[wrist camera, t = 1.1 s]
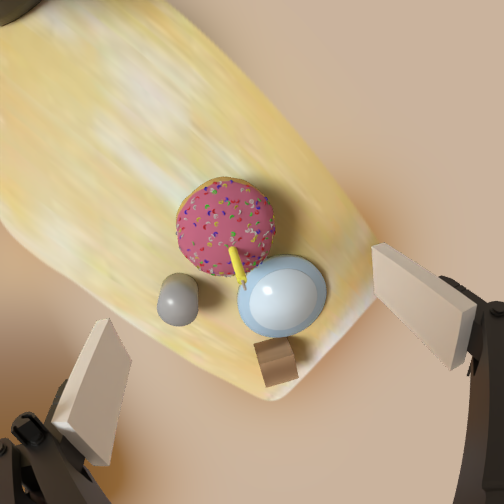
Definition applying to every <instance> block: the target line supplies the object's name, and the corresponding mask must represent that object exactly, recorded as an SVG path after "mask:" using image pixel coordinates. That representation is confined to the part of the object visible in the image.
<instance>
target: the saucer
mask: <svg viewBox="0 0 504 504" xmlns="http://www.w3.org/2000/svg"><path fill="white" fill-rule="evenodd" d="M246 278H247V282H246V283H245V285H246V288H247V290H246V291H245V290H244V289H243V286H242V285H240V286H239V289H238V293H237V304H238V309H239V313H240V316H241V318H242V320H243V321H244V323H245V324H246V325H247V326H248V327H249V328H250V329H251V330H252V331H254V332H256V333H258V334H260V335H263V336H266V337H274V338H279V337H287V336H291V335H294V334H296V333H298V332H300V331H302V330H304V329H305V328H307V327H308V326H309V325H311V324H312V323H313V322H314V321H315V320H316V318H317V317H318V316H319V314H320V313H321V311H322V309H323V307H324V304H325V300H326V293H327V292H326V284H325V281H324V278H323V276H322V274H321V273H320V272H319V270H318V269H317V268H316V267H315V266H314V265H313V264H312V263H311V262H310V261H308V260H307V259H305V258H302V257H300V256H296V255H290V254H282V255H276V256H272V257H269V258H266V259H264V260H263V263H262V264H259V268H256V267H255V268H254V269H253V270H250V272H247V274H246Z"/></svg>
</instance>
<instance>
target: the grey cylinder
mask: <svg viewBox="0 0 504 504" xmlns="http://www.w3.org/2000/svg"><path fill="white" fill-rule="evenodd" d="M157 311H158V314H159V316H160V318H161V319H162V320H163V321H164V322H166V323H168V324H170V325H173V326H185V325H188V324H190V323H191V322H193V321H194V320H195V318H196V316H197V314H198V286H197V283H196V282H195V280H194V279H193V278H192V277H190V276H189V275H187V274H183V273H175V274H172V275H170V276H168V277H167V278H166V279H165V280H164V281H163V283H162V287H161V291H160V295H159V299H158V303H157Z"/></svg>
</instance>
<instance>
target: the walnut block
mask: <svg viewBox="0 0 504 504" xmlns="http://www.w3.org/2000/svg"><path fill="white" fill-rule="evenodd" d="M254 347H255V351H256V354H257V358H258V362H259V365H260V369H261V372H262V375H263V379H264V382H265V385H266V387H270V386H274V385H277V384H281V383H284V382H287V381H291V380H294V379H297V378H299V377H298V372H297V367H296V362H295V357H294V353H293V351H292V349H291V346H290V344H289V342H288V339H287V337H279V338H273V339H269V340H266V341H262V342H259V343H255V344H254Z"/></svg>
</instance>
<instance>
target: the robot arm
mask: <svg viewBox="0 0 504 504" xmlns="http://www.w3.org/2000/svg"><path fill="white" fill-rule="evenodd" d="M40 1H41V0H0V26H2V25H5V24H7V23H10V22H12V21H14V20H15V19H17V18H19V17H20V16H22V15H23V14H25V13H26V12H28V11H29V10H30V9H32V8H33V7H34V6H35V5H37V4H38V3H39V2H40ZM371 248H372V262H373V280H374V295H375V296H376V297H377V298H379V299H380V300H381V301H382V302H383V303H384V304H385V305H386V306H387V307H388V308H389V309H390V310H391V311H392V312H393V313H394V314H395V315H396V316H397V317H398V318H399V319H400V320H401V321H402V322H403V323H404V324H405V325H406V326H407V327H408V328H409V329H410V330H411V331H412V332H413V333H414V334H415V335H416V336H417V337H418V338H419V339H420V340H421V341H422V342H423V343H424V344H425V345H426V346H427V347H428V348H429V350H430V351H431V352H432V353H433V354H434V355H435V356H436V357H437V358H438V359H439V360H440V361H441V362H442V363H443V364H444V365H445V366H446V367H447V368H448V369H449V370H450V371H451V370H453V369H454V368H456V367H458V366H459V365H461V364H463V363H464V360H465V357H466V353H467V351H468V352H469V353H470V354H471V355H472V360H471V363H470V366H469V370H468V373H467V376H469V374H470V372H471V380H470V400H469V413H468V424H467V432H466V440H465V447H464V453H463V459H462V465H461V470H460V475H459V480H458V485H457V489H456V493H455V497H454V501H453V504H504V302H499V301H493V302H489V303H486V302H485V301H484V300H482V299H481V298H480V297H478V296H477V295H475V294H474V293H472V292H471V291H469V290H466V288H465V287H464V286H462V285H460V284H459V283H457V282H456V281H455V280H453V279H451V278H448V277H445V276H439V277H437V276H436V275H434V274H433V273H431V272H430V271H428V270H427V269H425V268H424V267H422V266H421V265H419V264H418V263H416V262H415V261H413V260H412V259H410V258H408V257H407V256H405V255H404V254H402V253H401V252H399V251H397V250H396V249H394V248H393V247H391V246H389V245H388V244H386V243H385V242H384V243H380V244H377V245H374V246H371ZM131 363H132V360H131V358H130V356H129V354H128V353H127V351H126V349H125V347H124V346H123V344H122V342H121V340H120V338H119V336H118V334H117V332H116V330H115V328H114V326H113V324H112V322H111V320H110V318H106V319H102V320H98V321H96V323H95V325H94V327H93V329H92V331H91V333H90V335H89V337H88V339H87V341H86V343H85V345H84V347H83V349H82V351H81V353H80V355H79V357H78V360H77V362H76V364H75V366H74V368H73V371H72V373H71V375H70V377H69V379H66V380H65V381H64V382H63V384H62V385H61V386H60V387H59V389H58V391H57V394H56V396H55V397H56V398H54V401H53V405H51V408H50V410H49V412H48V415H47V417H46V420H45V422H44V425H43V424H42V422H41V421H40V420H39V419H38V418H37V417H36V415H35V414H34V413H32V412H25V413H23V414H21V415H19V416H18V417H17V418H16V419H15V421H14V422H13V424H12V427H11V433H12V434H13V435H14V436H15V437H16V438H17V439H18V440H19V441H20V442H21V443H22V444H20V445H16V446H15V445H14V444H13V443H12V442H11V441H10V440H9V439H7V438H2V439H0V504H111V502H110V501H109V500H108V498H107V497H106V496H105V494H104V493H103V491H102V490H101V488H100V487H99V485H98V484H97V483H96V481H95V480H94V478H93V476H92V475H91V473H90V472H89V470H88V469H87V468H86V467H85V466H84V465H83V464H84V460H85V458H86V459H87V460H88V461H89V462H90V463H91V464H92V465H94V466H109V465H110V460H111V454H112V448H113V443H114V438H115V433H116V428H117V423H118V418H119V414H120V408H121V404H122V400H123V396H124V391H125V387H126V383H127V378H128V374H129V371H130V367H131ZM22 485H23V486H24V487H25V492H24V491H23V488H22Z"/></svg>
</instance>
